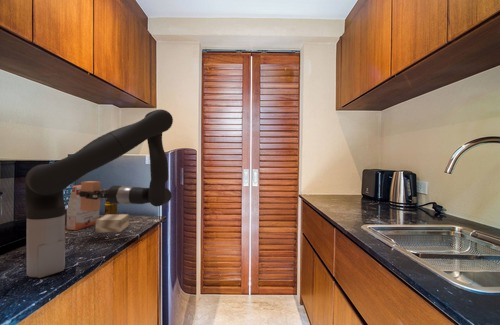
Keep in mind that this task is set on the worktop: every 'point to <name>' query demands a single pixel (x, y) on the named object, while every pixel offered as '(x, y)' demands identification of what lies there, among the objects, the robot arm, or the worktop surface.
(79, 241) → the worktop surface
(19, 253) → the worktop surface
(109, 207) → the condiment
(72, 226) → the cracker box
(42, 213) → the robot arm
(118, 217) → the birch base block
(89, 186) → the orange block
